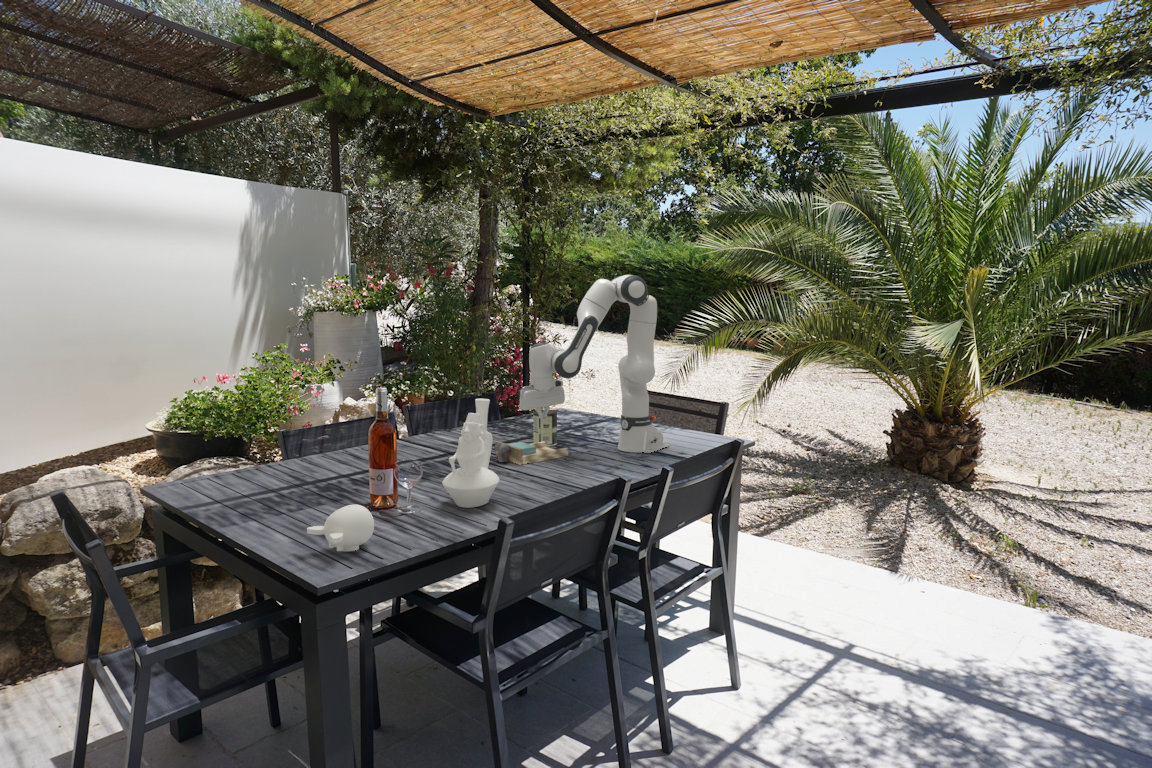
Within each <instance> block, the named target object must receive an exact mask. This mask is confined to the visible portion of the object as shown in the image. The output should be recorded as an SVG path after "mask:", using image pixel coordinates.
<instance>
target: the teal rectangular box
mask: <svg viewBox="0 0 1152 768" xmlns="http://www.w3.org/2000/svg"><path fill="white" fill-rule="evenodd" d="M507 444H508V445H511V446H514V447H518V448H521V449H523V456H524V455H529V454H535V453H536V446H534V445H530V444H531V443H526V442H523V441H518V442H511V443H507Z"/></svg>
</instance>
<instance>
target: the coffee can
mask: <svg viewBox="0 0 1152 768" xmlns="http://www.w3.org/2000/svg"><path fill="white" fill-rule="evenodd" d="M541 412H542V413H543V412H544V409H542V410H541ZM532 415H533V416H532V419H533V422H532V423H533V424H532V425H533V426H532V427H533V430H532V432H533V443H537V442H543V441H545V442H546V447H549V448H551V447H554V446H557V445H558V411H557V410H554V409H549V411H548V413H547V418H542V419H540V418H539V414H538V412H537V411H536V410H534V411H532Z"/></svg>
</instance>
